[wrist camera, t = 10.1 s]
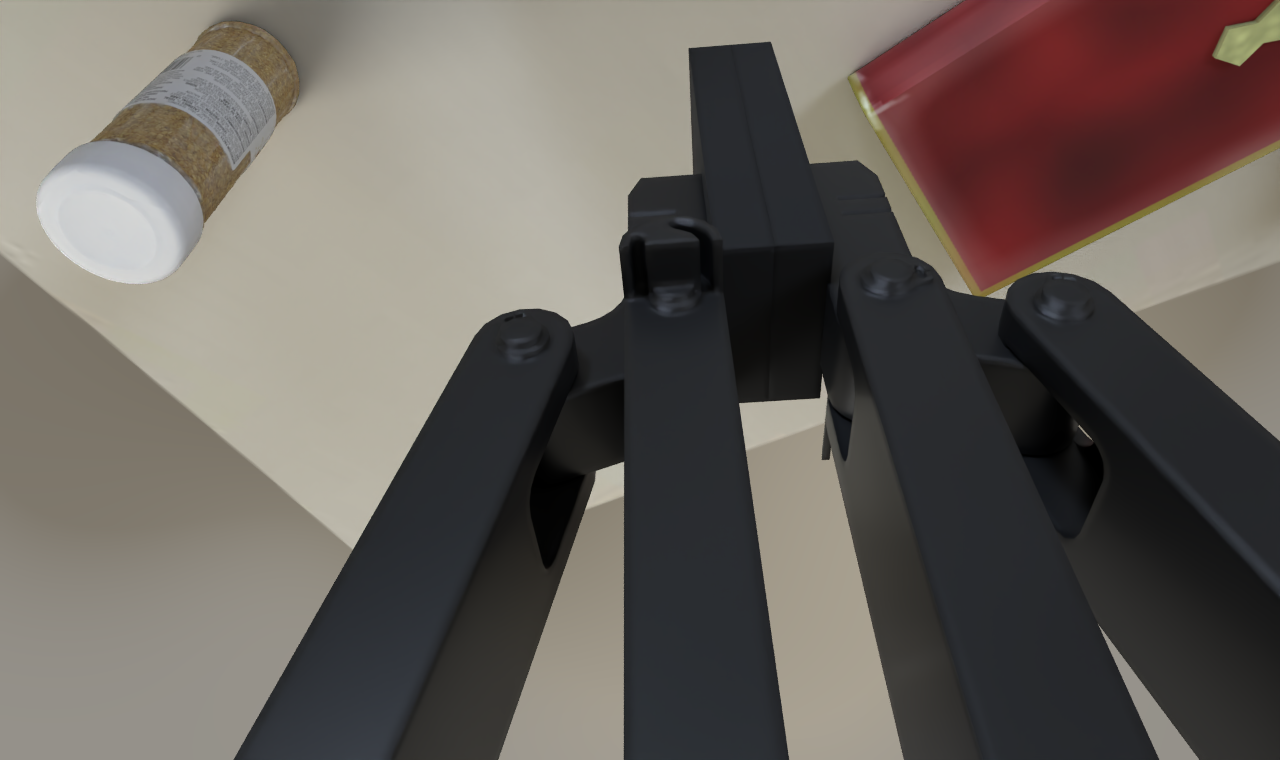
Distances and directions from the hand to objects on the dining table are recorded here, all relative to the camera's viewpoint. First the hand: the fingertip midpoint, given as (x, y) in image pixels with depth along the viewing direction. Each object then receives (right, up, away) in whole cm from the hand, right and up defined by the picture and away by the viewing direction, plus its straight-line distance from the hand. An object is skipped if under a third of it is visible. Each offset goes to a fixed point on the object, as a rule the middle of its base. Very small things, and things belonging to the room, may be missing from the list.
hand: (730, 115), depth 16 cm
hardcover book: (+19, +10, +20) cm, 30 cm away
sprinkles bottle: (-19, +9, +21) cm, 30 cm away
